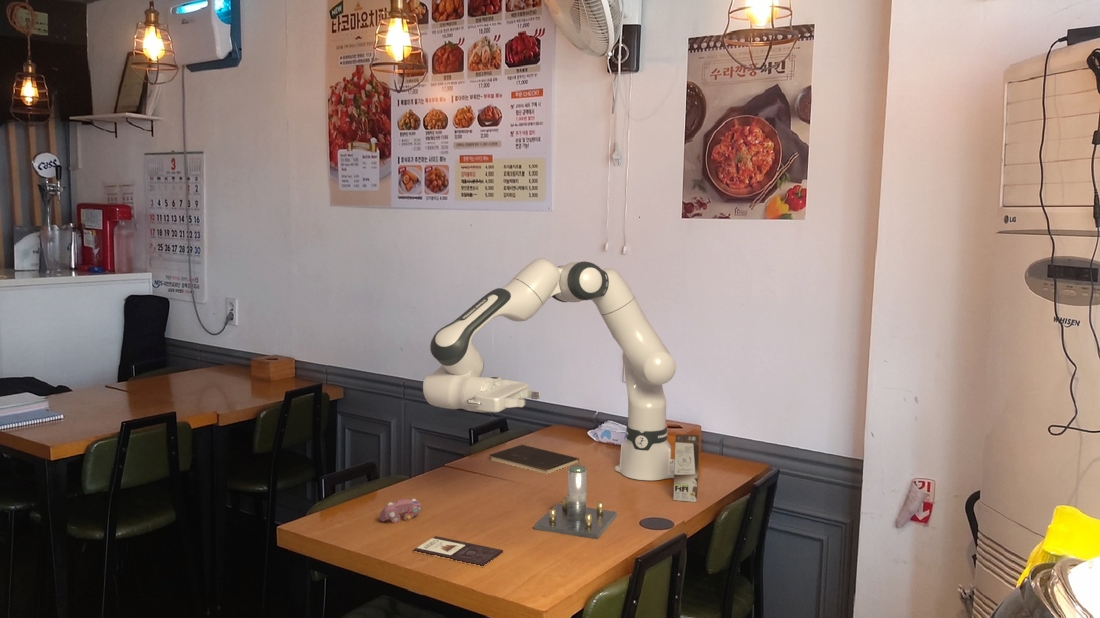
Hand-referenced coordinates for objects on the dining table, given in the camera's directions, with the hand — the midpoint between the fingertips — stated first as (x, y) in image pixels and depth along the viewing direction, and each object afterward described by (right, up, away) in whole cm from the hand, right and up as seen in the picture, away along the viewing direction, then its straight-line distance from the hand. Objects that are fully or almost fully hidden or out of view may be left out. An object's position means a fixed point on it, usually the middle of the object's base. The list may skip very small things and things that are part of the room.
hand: (531, 399), depth 202 cm
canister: (+11, -29, -1) cm, 31 cm away
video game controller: (-32, -30, -1) cm, 44 cm away
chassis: (+11, -30, -1) cm, 32 cm away
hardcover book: (0, -26, +50) cm, 56 cm away
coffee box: (+41, -29, +19) cm, 54 cm away
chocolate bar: (-16, -33, -19) cm, 41 cm away
